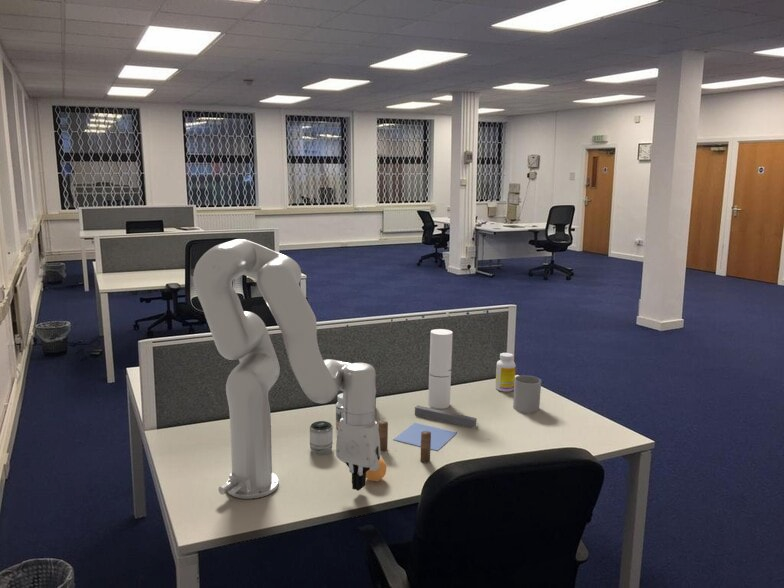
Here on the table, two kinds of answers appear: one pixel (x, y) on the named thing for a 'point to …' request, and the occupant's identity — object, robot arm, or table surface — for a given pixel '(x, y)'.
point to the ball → (377, 472)
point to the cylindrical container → (440, 368)
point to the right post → (425, 446)
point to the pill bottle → (338, 405)
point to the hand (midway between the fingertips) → (358, 487)
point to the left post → (383, 435)
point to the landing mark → (414, 436)
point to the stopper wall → (446, 416)
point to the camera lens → (321, 437)
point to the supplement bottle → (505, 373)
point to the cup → (527, 394)
